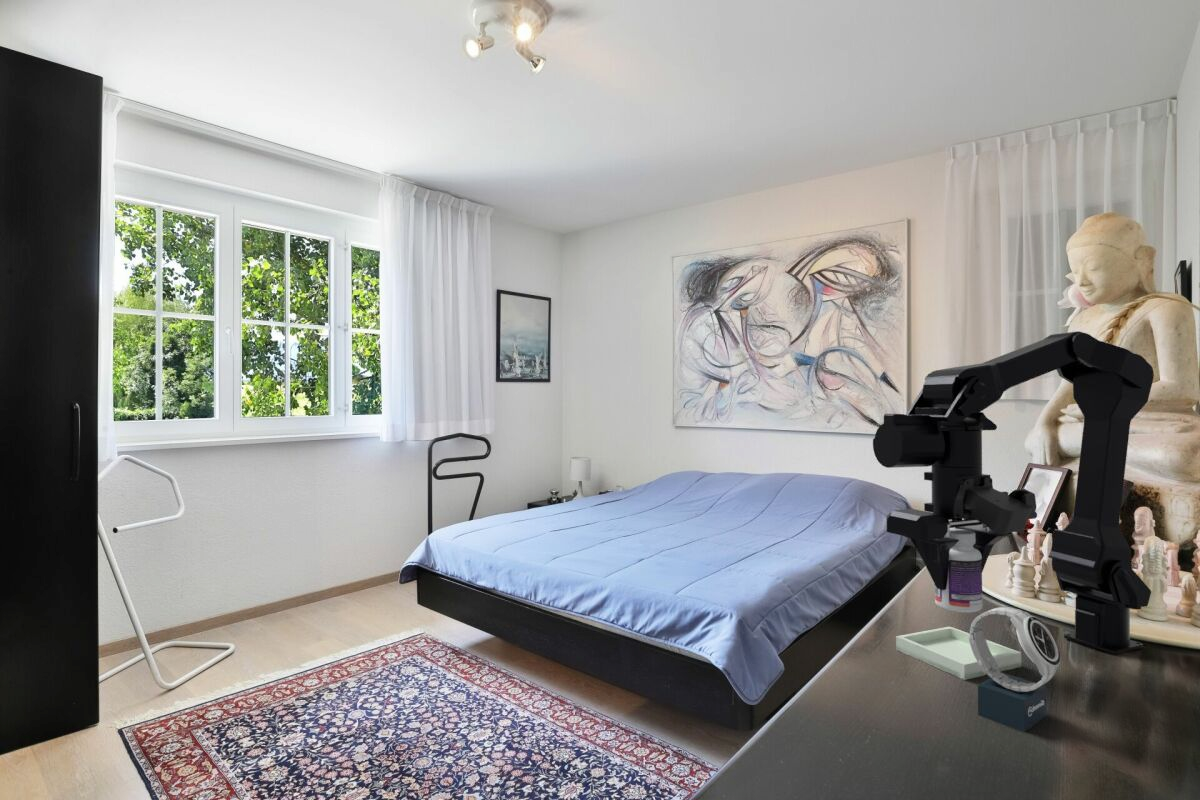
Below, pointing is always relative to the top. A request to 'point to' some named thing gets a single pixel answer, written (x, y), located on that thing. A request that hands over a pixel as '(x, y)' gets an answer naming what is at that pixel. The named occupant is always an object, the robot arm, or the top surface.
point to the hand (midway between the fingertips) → (957, 586)
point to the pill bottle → (962, 575)
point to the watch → (1007, 693)
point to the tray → (954, 652)
